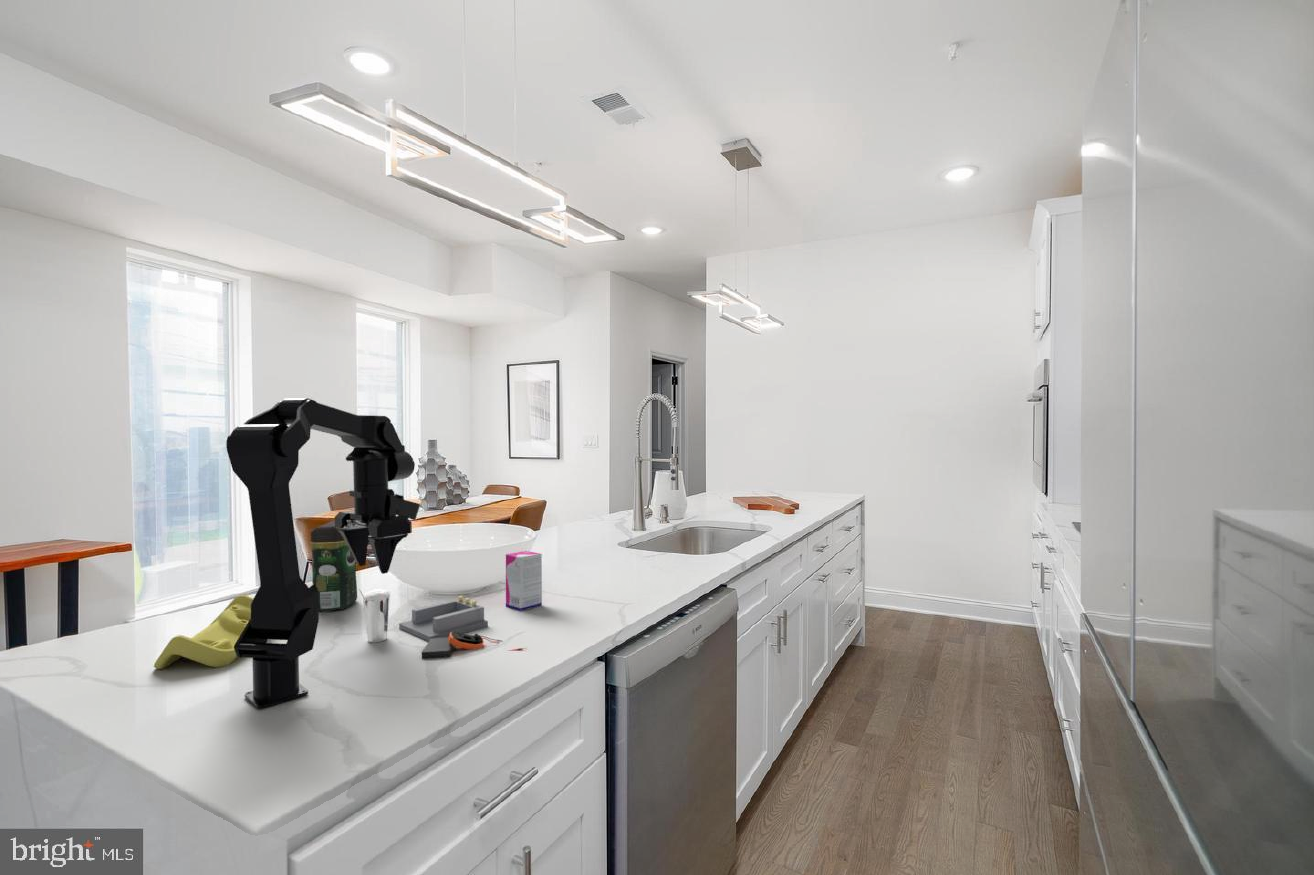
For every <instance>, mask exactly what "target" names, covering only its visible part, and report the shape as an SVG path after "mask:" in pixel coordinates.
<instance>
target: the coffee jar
mask: <svg viewBox="0 0 1314 875" xmlns="http://www.w3.org/2000/svg"><path fill="white" fill-rule="evenodd" d="M338 529H343V528H338V527H335V520H332V521H330V522H327V523H325V524H324V523H323V524H322V525H319V526H316V527H315V528H313V529H311V530H310V541H309V543H310V548H311V556H312V558H311V559H312V583H311V584H315V585H316V586H317V589H318V602H319V605H320V607H321V609H320V610H318V612H319V611H320V612H333V611H337V610H345V609H346V608H348V607H350V606H351V605H352V604H354V603H355V602H356V601H357V599H358V586H357V573H356V572H357V568H356V567H357V566H356V560H355V558H354V556H353V554H352V552H351V551H350V549H349V547H348V545H347V543H346V542H345V540H344V538H343V537H342V535H341V533H340V532H339V531H338Z"/></svg>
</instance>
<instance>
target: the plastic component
mask: <svg viewBox="0 0 1314 875" xmlns="http://www.w3.org/2000/svg"><path fill="white" fill-rule="evenodd" d="M253 599H254V597H252V596H248V595H246V594H239V595H238V596H236V597H234V598H233V600H232V601H230V603H229V604H228V605H227V606H226V607H225V609H223V611H222V612H221V613H220V614H219V615H218V616H217V617H216V618H215V619H214V620H213V621H212V622H211V623H210V624H209V625H208V626H207V627H206V628H203V629H202V630H201V631H199V632H198V633H197V634H195V635H194V636H192V637H191V638H190V637H187V636H186V635H181V634H179V635H176V636H174V637H172V638H171V639H170V640H169V642H168V643H167V645H166V646H165V647H164V649H163V650H162V652H161V653H160V654H159V656H158V657H157V659H156V660H155V663H154V665H153V668H155V669H158V670H163V669H166V668H167V667H168V666H170V665H171V664H173V663H174V662H175V661H177V660H178V659H180V658H182V657H183V658H185V659H189V660H191V661H194V662H197V663H200V664H202V665H206V666H208V667H212V668H220V667H221V668H222V667H225V666H227V665H230V664H231V663H232V662H234V661H235V660H236V659H238V658H237V655H236V652H235V650H234V645H235V643H236V642H237V640H238V638H239V637H240V635H241V633H242V632H243V630H244V628H245V627H246V625H247V623H248V622H249V620H250V619H251V602H252V601H253Z"/></svg>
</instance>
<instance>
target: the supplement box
mask: <svg viewBox="0 0 1314 875" xmlns="http://www.w3.org/2000/svg"><path fill="white" fill-rule="evenodd" d="M542 556H543V554H542V553H540V552H535V551H534V552H533V551H530V550H529V551H527V550H523V551H518V552H517V551H516V552H511V553H506V554H505V607H507V608H510V609H513V610H518V611H521V612H523V611H527V610H530V609H533V608H538V607H540V606H543V574H542V573H543V572H542V570H543V566H542V558H543V557H542Z"/></svg>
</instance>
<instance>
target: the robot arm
mask: <svg viewBox="0 0 1314 875" xmlns="http://www.w3.org/2000/svg"><path fill="white" fill-rule="evenodd" d="M311 430H314V431H318V432H321V433H324V434H329V435H334V436H337V437H340V440H341V441H342V442H343V443H344V444H347V445H349V447H350V446H351V447H352V448H353V449H352V451H351V452H349V454H347V456H346V457H345V461H347V462H352V464H353V465H352V467H353V468H352V471H353V489H351V490H349V497H351V498H352V497H353V502H354V503H353V504H354V505H353V508H354V509H352V510H343V511H338V513H337V514H336V515H335V516H334V521H335V527H338V528H343V529H338V531H339V532H340V533H341V535H342V537H343V538H344V540H345V542H346V543H347V545H348V547H349V549H350V551H351V552H352V554H353V556H354V558H355V563H356V564H357V565H358V566H359V567H363V566H365V565H366V562H367V556H368V546H369V544H370V547H371V549H372V553H373V555H374V558H375V562H376V563H377V565H378V566H377V567H378V569H379V572H380V573H381V574H383V575H384V574H388V573H389V570H390V567H391V564H392V560H393V558H394V554H395V551H396V549H397V547H398V546H397V545H398V544H399V543H400V542H401V541H402V540H403V539H405V538H407V537H408V536H409V534H411V533H413V532H412V531H413V526H412V521H411V520H413V521H416V519H417V517H418V513H419V510H420V508H421V507H420V506H421V503H417V502H414V501H411V500H406V499H404V495H401V494H397V493H395V491H394V490H393V489H392V488H391V489H390V488H389V482H393V481H399V480H405V479H407V478H409V477H410V476H412V474H413V473H414V470H415V467H416V466H415V465H416V463H415V461H414V458H413V457H412V455H411V454H410V453H409V452H407V451H406V446H405V445H403V444H402V442H401V440H400V438H399V436H398V432H397V430H396V429H395V427H394V424H393V423H392V422H391V419H390V418H389V417H387V415H361V414H360V415H359V414H356V413H352V412H349V411H345V410H343V409H339V408H336V407H333V406H329V405H326V404H323V403H320V402H317V401H316V400H314V399H312V398H303V397H302V398H297V397H296V398H284V399H282V400H279V401H278V402H276V404H274V405H273V406H272V407H271V408H269V409H267V410H265V411H263V412H261V413H259V414H257V415H255V416H253V417H250V418H249V419H248V420H246V421H245V422H244V423H243V424H241V425H239V426H236V427H235V428H234V429H233V430H232V432H231V433H230V435H228V436H227V439H226V444H225V445H226V452H227V455H228V459H229V462H230V466H231V468H232V471H233V472H234V474H235V475H236V476H237V477H238V478H239V480H240V481H241V482H242V483H243V485H244V486H245V487H246V488H247V492H248V499H249V505H250V513H251V514H250V515H251V520H252V522H251V523H252V529H253V537H254V544H255V551H256V561H257V566H258V567H257V568H258V574H259V587H258V589H257V591H256V593H255V595H254V597H253V598H254V599H253V601H252V602H251V619H250V620H249V622H248V623H247V625H246V627H245V628H244V630H243V632H242V633H241V635H240V637H239V638H238V640H237V642H236V643H235V645H234V650H235V652H236V655H237V658H236V659H243V658H244V659H252V690H251V691H247V692H245V693H244V698H245V699H246V700H248V702H250V704H252V705H253V707H255V708H256V709H264V708H267V707H271V706H273V705H274V706H275V705H278V704H280V703H283V702H286V701H290V700H293V699H296V698H300V697H301V698H302V697H303V696H306V695H309V690H308V689H307V688H306V687H304V686H303V685H301V684H300V664H299V663H300V662H299V661H300V657H301V656H303V655H305V654H306V653H308V652H311V651H312V650H313V649H314V644H315V640H316V635H317V631H318V627H319V621H320V614H319V613H320V612H319V610H320V609H321V607H320V605H319V602H318V589H317V586H316V585H315V584H312V583H305V582H304V580H303V578H301V575H300V567H299V558H298V552H297V542H296V534H295V525H294V517H293V508H292V500H291V492H290V491H291V490H290V481H291V479H292V478H293V476H294V474H295V472H296V471H297V468H298V467H299V456H300V455H299V452H300V449H302V448H303V447H304V446H305V445H306V443H307V442H308V441H309V440H310V439H311V432H312V431H311ZM268 640H270V641H271V640H278V641H286V643H277V642H273V643H272V642H268Z"/></svg>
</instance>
